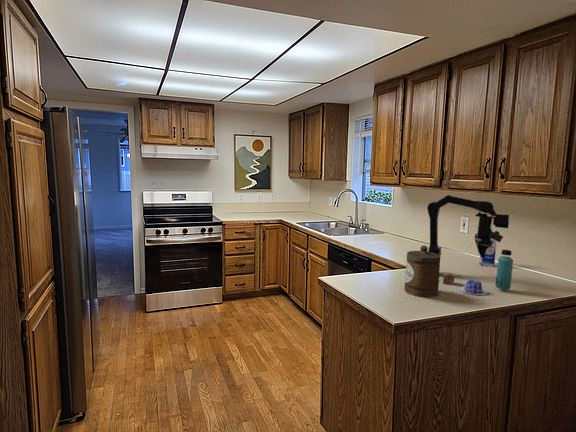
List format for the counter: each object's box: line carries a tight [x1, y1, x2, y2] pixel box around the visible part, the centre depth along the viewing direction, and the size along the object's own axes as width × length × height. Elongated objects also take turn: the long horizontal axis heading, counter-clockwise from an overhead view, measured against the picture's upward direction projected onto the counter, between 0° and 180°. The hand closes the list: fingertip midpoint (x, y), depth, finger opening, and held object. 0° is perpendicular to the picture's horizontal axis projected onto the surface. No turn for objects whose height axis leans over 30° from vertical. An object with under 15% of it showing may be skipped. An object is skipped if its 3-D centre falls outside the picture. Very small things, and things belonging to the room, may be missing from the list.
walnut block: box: [442, 271, 456, 286], centre depth 187 cm, size 5×5×5 cm
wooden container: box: [404, 245, 441, 298], centre depth 171 cm, size 15×15×22 cm
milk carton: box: [479, 238, 498, 268], centre depth 225 cm, size 7×7×20 cm
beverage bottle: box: [494, 249, 514, 291], centre depth 177 cm, size 6×7×20 cm
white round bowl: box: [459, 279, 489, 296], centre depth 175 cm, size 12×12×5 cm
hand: (481, 255), depth 190 cm, fingers open, 9 cm apart
